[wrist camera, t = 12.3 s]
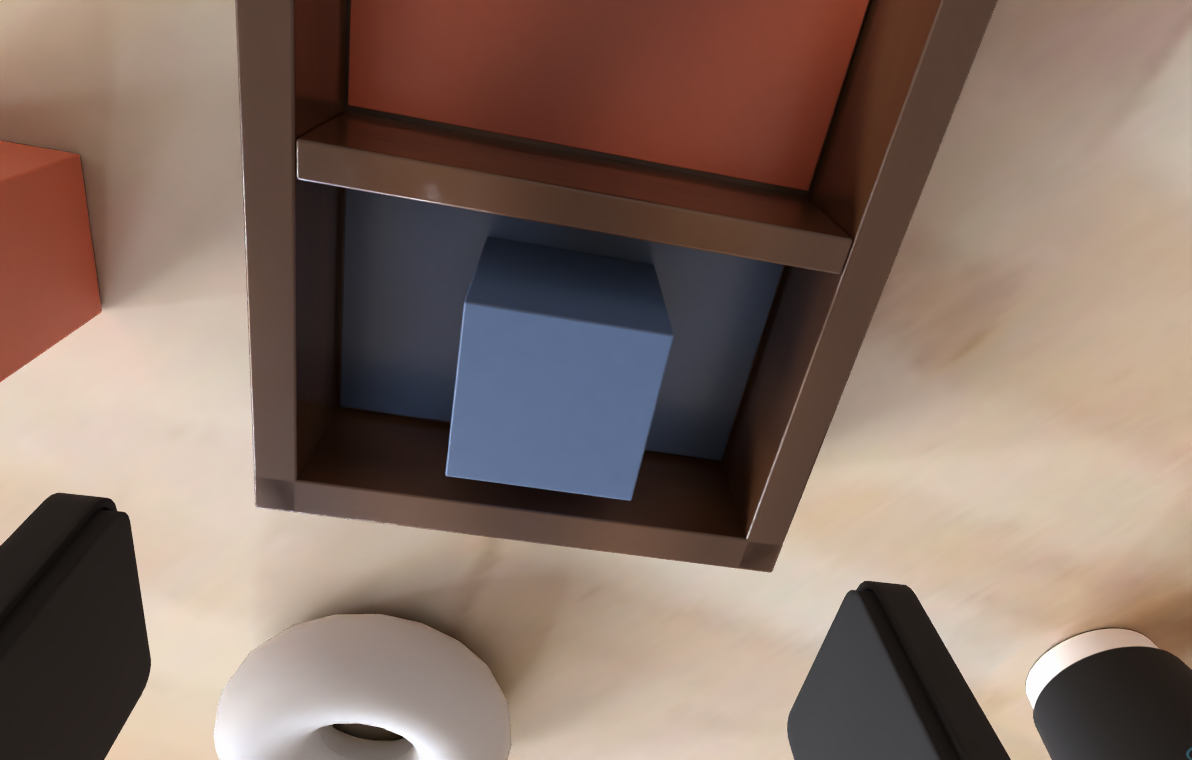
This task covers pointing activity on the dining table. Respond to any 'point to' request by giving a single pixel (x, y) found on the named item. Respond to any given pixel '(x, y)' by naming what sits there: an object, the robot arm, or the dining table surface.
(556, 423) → the slate block
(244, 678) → the donut
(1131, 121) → the dining table surface
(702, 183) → the sorting tray
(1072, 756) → the dixie cup
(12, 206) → the terracotta block
